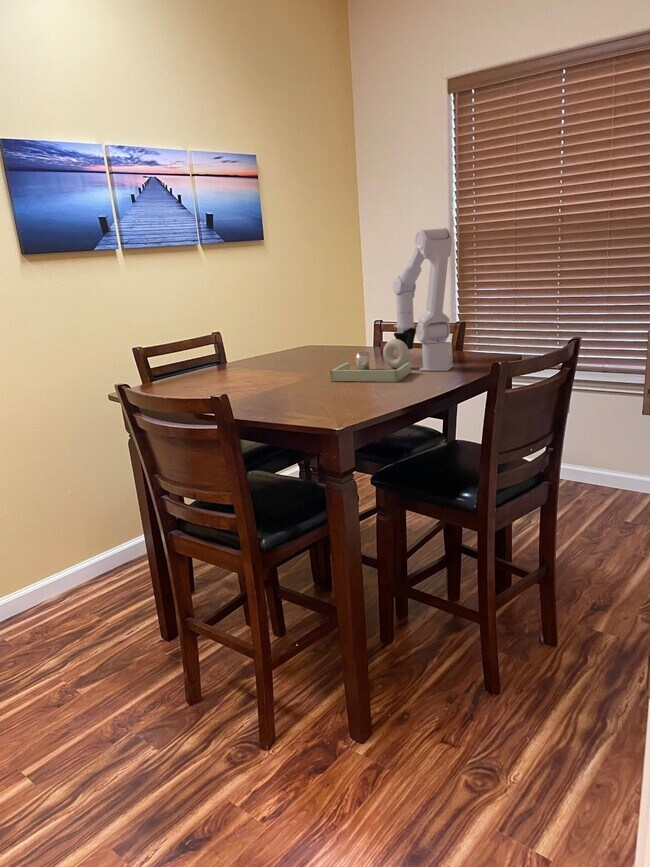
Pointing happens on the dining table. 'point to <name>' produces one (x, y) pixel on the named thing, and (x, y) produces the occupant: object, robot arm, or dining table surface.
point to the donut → (401, 349)
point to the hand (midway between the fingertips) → (406, 350)
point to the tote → (369, 374)
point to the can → (362, 361)
